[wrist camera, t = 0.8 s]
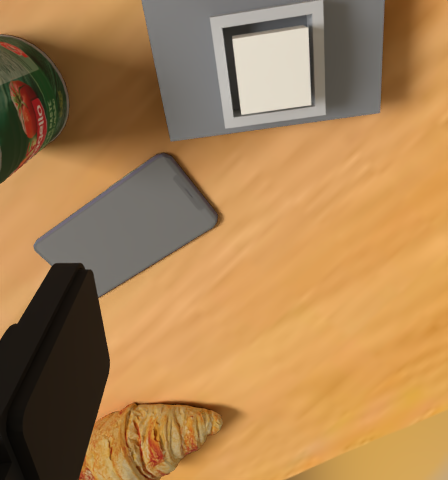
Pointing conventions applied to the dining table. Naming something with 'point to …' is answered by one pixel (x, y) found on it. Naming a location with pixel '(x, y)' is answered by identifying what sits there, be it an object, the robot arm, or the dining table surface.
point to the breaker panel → (224, 70)
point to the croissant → (146, 441)
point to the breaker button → (273, 69)
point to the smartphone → (131, 224)
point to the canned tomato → (28, 103)
